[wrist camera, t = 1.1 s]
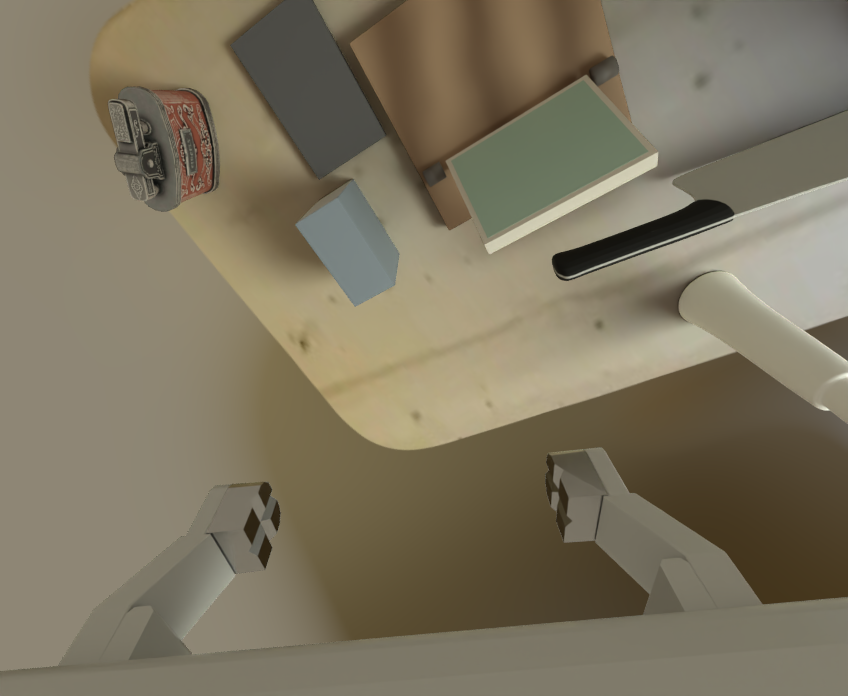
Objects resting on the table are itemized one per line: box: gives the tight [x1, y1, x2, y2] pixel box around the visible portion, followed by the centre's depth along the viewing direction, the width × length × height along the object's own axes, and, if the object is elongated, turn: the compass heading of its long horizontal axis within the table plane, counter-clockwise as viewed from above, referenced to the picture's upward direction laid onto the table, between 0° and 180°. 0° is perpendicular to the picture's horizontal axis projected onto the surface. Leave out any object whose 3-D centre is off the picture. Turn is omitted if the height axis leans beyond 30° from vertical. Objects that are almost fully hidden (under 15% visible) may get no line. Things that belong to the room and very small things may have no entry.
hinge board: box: [349, 0, 632, 230], centre depth 31 cm, size 17×16×3 cm
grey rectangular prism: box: [295, 179, 399, 307], centre depth 35 cm, size 4×8×8 cm, turn 30°
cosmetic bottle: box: [679, 271, 848, 424], centre depth 33 cm, size 6×6×22 cm
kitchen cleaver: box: [552, 110, 848, 281], centre depth 32 cm, size 31×2×10 cm, turn 111°
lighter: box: [108, 86, 220, 212], centre depth 31 cm, size 8×3×10 cm, turn 173°
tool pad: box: [230, 0, 386, 179], centre depth 33 cm, size 7×11×1 cm, turn 30°
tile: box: [446, 75, 658, 254], centre depth 30 cm, size 12×10×1 cm
